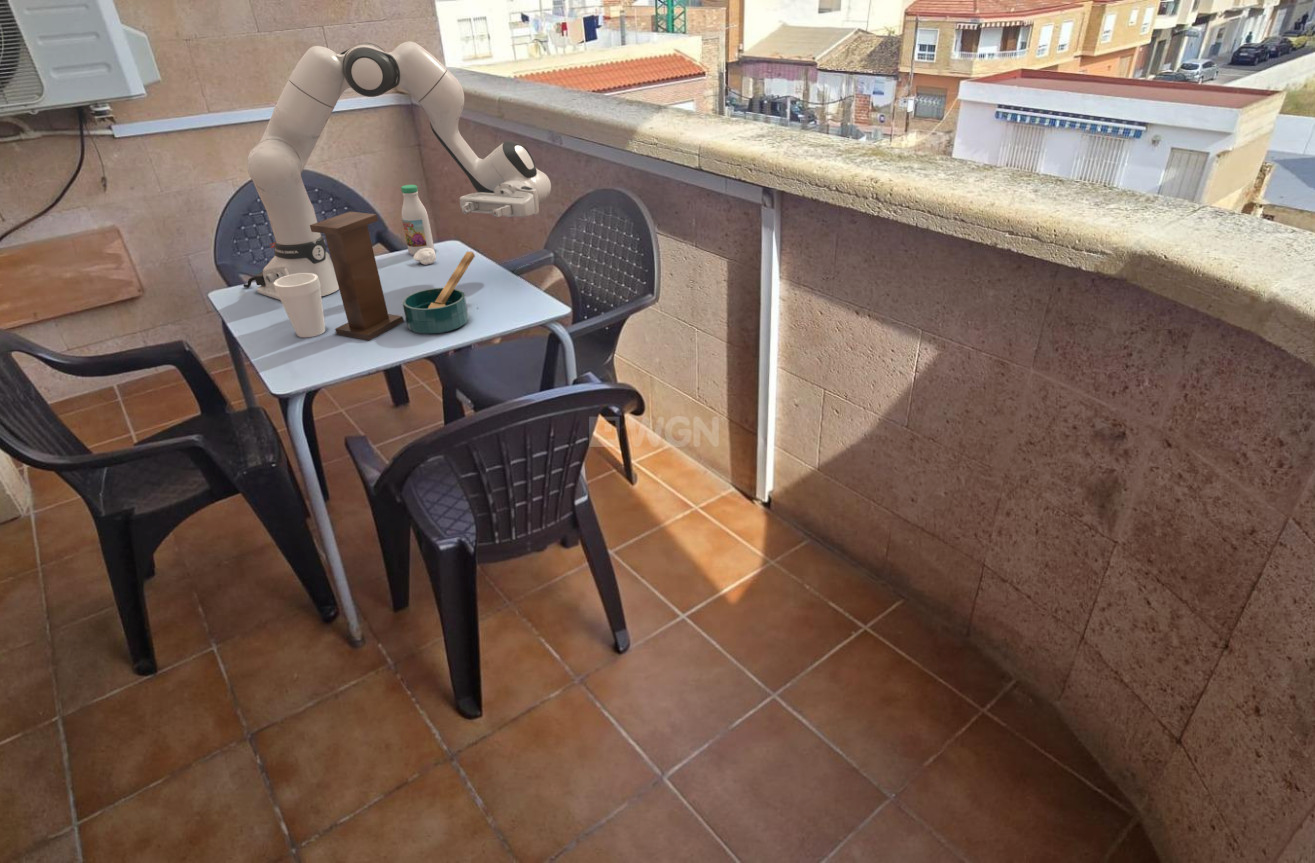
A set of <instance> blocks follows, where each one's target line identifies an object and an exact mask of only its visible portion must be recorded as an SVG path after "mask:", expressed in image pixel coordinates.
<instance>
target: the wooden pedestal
mask: <svg viewBox="0 0 1315 863" xmlns="http://www.w3.org/2000/svg"><path fill="white" fill-rule="evenodd" d="M378 221H379V218H378V215H377V214H376V213H369V212H368V213H366V212H357V211H347V212H344V213H341V214H338V215H335V216H332V217H330V218H329V217H328V218H326V219H324V220H321V221H317V223H315V224H312V225H310V228H311V232H317V233H320V234H324V237H325V242H326V246H327V248H328V251H329V256H330V259H331V261H332V264H333V267H334V271H335V275H336V279H337V282H338V286H339V289H338V290H339V294H340V297H341V301H342V304H343V305H342V306H343V308H344V312H345V313H344V314H345V316H346V319H347V322H346V323H343V324H341V325H340V326H338V327H335V328H334V330H335V334H336V335H338V336H341V337H342V336H343V337H346V338H347V337H348V338H354V339H358V340H359V339H360V340H365V341H371V340H373V339H375V338H376V337H378V336H380V335H383V334H384V333H386V332H388V331H390V330H392V329H393V328H394V327H397V326H398V325H401V324H402V323H405V321H404V317H403V315H398V314H392V313H388V307H387V304H386V300H385V296H384V291H383V286H382V282H381V277H380V273H379V270H378V269H379V268H378V265H377V261H376V257H375V251H374V248H373V244H372V241H371V240H372V239H371V236H370V230H369V227H368V225H371V224H373V223H375V222H378Z"/></svg>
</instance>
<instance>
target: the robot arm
mask: <svg viewBox="0 0 1315 863" xmlns="http://www.w3.org/2000/svg"><path fill="white" fill-rule="evenodd" d="M396 87H399V88H402V89H403V90H404V91H406V92H407V93H408V94H409V95H410V96H411V97H412V98H413V99H414V100H415V101H416V102H417V103H418V104H419V105H420V106H421V107H422V109H423V110H424V111H425V113H426V115H427V117H428V119H429V127H430V130H431V131H432V133H433V135H434V136H435V138H436V139H437V140H438V141H439V143H440V144H441V145H442V147H443V148H444V149H445V150H446V152H447V153H448V154H449V155H450V157H452V159H453V160H454V161H455V163H456V164H457V165H458V166H459V168H460V169H461V170H462V171H463V172H464V174H465V176H466V177H467V178H468V180H469V182H470V183H471V185H472V186H473V188H474V189H475V191H476V192H472V193H468V194H464V195H461V196H459V207H460V210H461V213H462V214H464V215H466V214H467V215H469V214H471V213H477V214H487V215H493V217H496V218H500V217H506V218H515V217H518V218H527V217H531V216H535V215H538V214H540V205H542V204H543V203H545V202H546V201H547V200H548V198H549V197H550V194H551V191H552V183H551V180H550V178H549V176H548V175H547V174H546V173H545V172H544V171H541V170H540V169H538V168H537V166H536V164H535V161H534V158H533V157H532V155H531V153H530V151H529V150H528V149H527V147H525V146H524V145H523V144H521V143H519V142H517V141H514V140H505V141H503V142H502V143H500V145H499V146H497V147H496V148H494V149H493V151H491V153H489V154H488V155H487V156H486V157H484V158H480V157H479V156H478V155H477V154H476V153H475V151H474V150H473V149H472V148H471V146H470V145H469V144H468V142H466V140H465V139H464V137H463V136H462V135H461V133H460V129H459V122H460V118H461V116H462V113H463V109H464V108H465V93H464V89H463V86H462V84H461V82H460V81H459V80H458V79H457V78H456V76H455V75H454V74H453V73H452V72H450V70H449V69H447V67H446V66H445V65H444V64H443V63H442V62H441V61H440V60H438V58H436V57H435V56H434V55H433V54H432V53H431V52H429V51H428V50H426V49H425V48H424V47H423V46H421V45H420V44H418V43H417V42H415V41H410V40H409V41H405V42H402V43H400V44H399V45H398V46H396V47H395V48H394V49H393V50H392V51H390V52H387V51H385V50H384V49H383V48H382V47H380V46H379V45H377V44H375V43H371V42H362V43H358V44H355V45H353V46H352V47H350V48H348V49H346V50H344V51H342V52H340V53H337V52H335V51H333V50H332V49H331V48H328V47H325V46H321V45H314V46H311V47H309V48H308V49H307V51H306V52H305V53H304V54H303V55H302V57H301V58H300V59H299V61H298V62H297V64H296V65H295V67H294V68H293V70H292V72H291V74H290V75H289V77H288V80H287V82H286V84H285V85H284V87H283V89H282V92H281V93H280V96H279V98H278V99H277V102H276V104H275V106H274V108H273V110H272V113H271V116H270V118H269V120H268V123H267V126H266V129H265V130H264V133H263V135H262V137H261V138H260V140H259V141H258V143H257V144H256V145H255V146H254V147H253V148H252V149H251V150H250V151H249V153H248V156H247V159H246V164H247V165H246V167H247V172H248V175H249V177H250V178H251V180H252V182H253V185H254V187H255V190H256V192H257V194H258V196H259V198H260V200H261V202H262V204H263V206H264V209H265V211H266V214H267V217H268V221H269V224H270V226H271V229H272V233H273V237H274V240H275V241H274V242H272V243H269V246H270V249H274V256H273V257H272V259H270V261H269V262H268V263H267V264H266V265H265V266H264V267H263V269H262V271H261V272H259V273H257V274H255V275H254V276H253V277H250V278H249V279H248V280H247V284H246V283H243V285H242V286H243V288H246V289H247V288H248V289H249V288H250V287H251V286H252V282H253V281H255V283H256V286H259V287H258V288H256V291H257V293H258V294H260V295H263V296H266V297H269V298H273V299H276V300H278V301H281V300H280V298H279V295H278V294H277V293H276V290H275V287H274V284H273V283H274V282H275V280H277V279H279V278H281V277H284V276H287V275H292V274H298V273H312V274H316V275H317V276H318V278H319V282H320V292H321V297H324V296H328V295H331V294H333V293H335V292H337V291H338V290H339V286H338V282H337V279H336V275H335V271H334V267H333V264H332V260H331V256H330V253H328V251H327V244H326V239H324V236H323V235H322V233H317V232H311V228H310V225H312V224H315V223H318V219H317V215H316V212H315V208H314V205H313V202H311V200H310V198H309V195H308V192H307V189H306V187H305V184H304V182H303V178H302V172H303V171H304V169H305V167H306V165H307V163H308V160H309V159H310V157H311V154H313V150H314V149H315V147H316V144H317V142H318V140H319V139H320V136H321V134H322V132H323V131H324V129H325V127H326V124H327V123H328V121H329V119H330V117H331V115H332V113H333V112H334V109H335V108H336V105H337V103H338V102H339V99H340V98H341V96H342V95H343V93H344V92H345V91H346V90H348V89H350V88H351V89H352V90H353V91H355V92H356V93H357V94H359V95H360V96H363V97H367V98H375V97H379V96H382V95H384V94H386V93H388V92H389V91H391V90H392V89H395V88H396Z"/></svg>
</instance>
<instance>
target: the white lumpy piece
mask: <svg viewBox="0 0 1315 863" xmlns="http://www.w3.org/2000/svg"><path fill="white" fill-rule="evenodd" d="M412 258H413V260H414V261H416V262H420V264H422V265H424V266H425V265H431V264H434V263H435V261H436V259H437V256H436V250H435V249H434V250H433V249H432V248H423V249H420V250H418V251H417V252H416V253H415V255H413V256H412Z"/></svg>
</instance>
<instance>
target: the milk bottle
mask: <svg viewBox="0 0 1315 863" xmlns="http://www.w3.org/2000/svg"><path fill="white" fill-rule="evenodd" d="M400 190H401V193H402V194H401V195H403V203H402V207H401V220H402V226H403V231H404V236H405V240H406V245H407V250H408V253H409V255H412V256H414V255H415V253H416V252H417V251H418V250H420V249H423V248H432V249H433V250H434V251H435V245H434V239H433V234H432V230H431V224H430V219H429V215H428V212H427V209H426V207H425V206H424V204H423V203H422V201H421V199H420V197H419V191H418V190H419V189H418V185H416V184H405V185H402V186H401V187H400Z"/></svg>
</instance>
